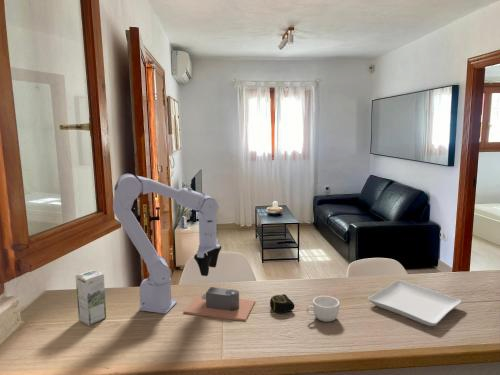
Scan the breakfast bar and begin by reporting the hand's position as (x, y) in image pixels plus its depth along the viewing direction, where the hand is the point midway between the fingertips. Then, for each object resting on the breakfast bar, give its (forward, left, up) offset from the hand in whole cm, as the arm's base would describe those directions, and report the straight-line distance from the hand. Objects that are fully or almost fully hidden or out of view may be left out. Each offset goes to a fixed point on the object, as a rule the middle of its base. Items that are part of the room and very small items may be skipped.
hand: (208, 271), depth 120 cm
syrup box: (-29, -22, -10) cm, 38 cm away
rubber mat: (+6, -6, -9) cm, 13 cm away
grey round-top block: (+6, -6, -9) cm, 12 cm away
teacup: (+38, -5, -10) cm, 40 cm away
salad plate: (+66, +9, -10) cm, 67 cm away
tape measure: (+25, -2, -10) cm, 27 cm away
